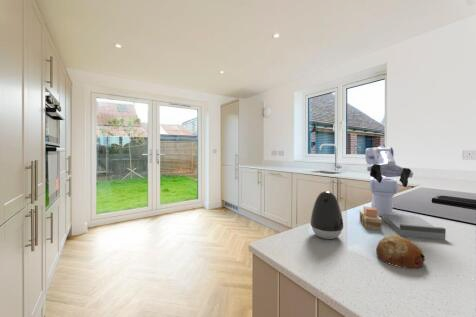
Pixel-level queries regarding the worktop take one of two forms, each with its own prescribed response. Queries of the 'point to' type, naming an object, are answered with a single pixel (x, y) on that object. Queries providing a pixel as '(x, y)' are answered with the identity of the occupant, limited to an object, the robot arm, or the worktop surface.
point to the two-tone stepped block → (370, 221)
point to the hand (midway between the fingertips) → (392, 182)
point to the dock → (414, 227)
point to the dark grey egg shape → (326, 216)
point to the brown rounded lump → (400, 252)
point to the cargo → (370, 211)
